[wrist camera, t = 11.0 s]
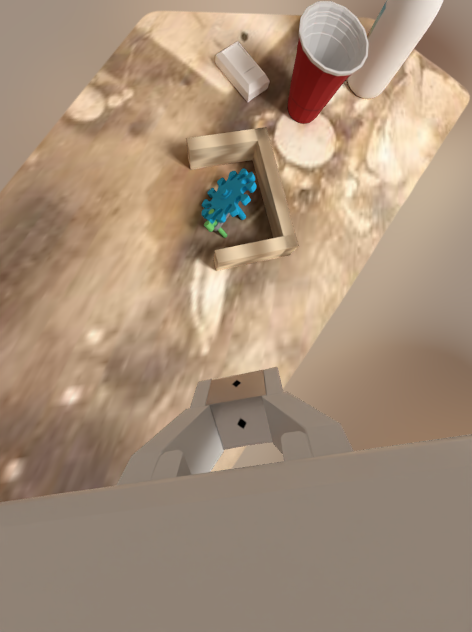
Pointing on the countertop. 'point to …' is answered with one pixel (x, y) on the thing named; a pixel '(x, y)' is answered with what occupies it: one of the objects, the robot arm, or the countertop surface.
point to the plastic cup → (324, 57)
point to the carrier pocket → (260, 151)
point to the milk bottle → (392, 43)
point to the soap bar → (242, 71)
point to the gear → (228, 199)
